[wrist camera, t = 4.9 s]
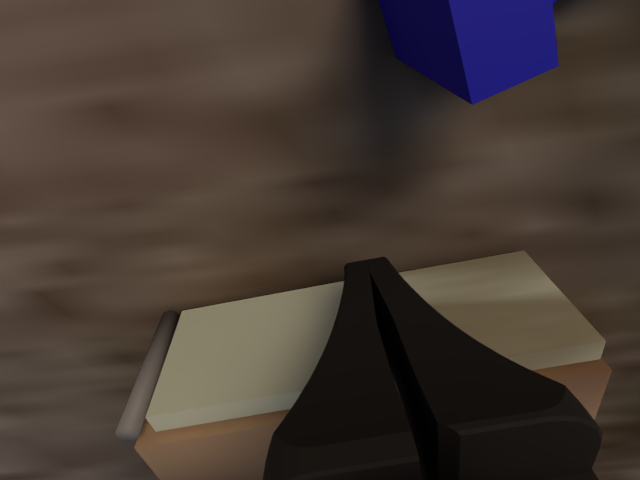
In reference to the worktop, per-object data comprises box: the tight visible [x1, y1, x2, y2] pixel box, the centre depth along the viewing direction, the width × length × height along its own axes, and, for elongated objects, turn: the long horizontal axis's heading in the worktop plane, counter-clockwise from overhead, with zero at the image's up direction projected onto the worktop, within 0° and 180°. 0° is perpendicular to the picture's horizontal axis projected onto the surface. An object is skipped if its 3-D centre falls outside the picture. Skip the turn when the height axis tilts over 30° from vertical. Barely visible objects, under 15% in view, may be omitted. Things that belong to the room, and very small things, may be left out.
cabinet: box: [135, 251, 612, 480], centre depth 16 cm, size 10×15×5 cm, turn 100°
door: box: [115, 281, 344, 441], centre depth 14 cm, size 1×9×5 cm, turn 101°
